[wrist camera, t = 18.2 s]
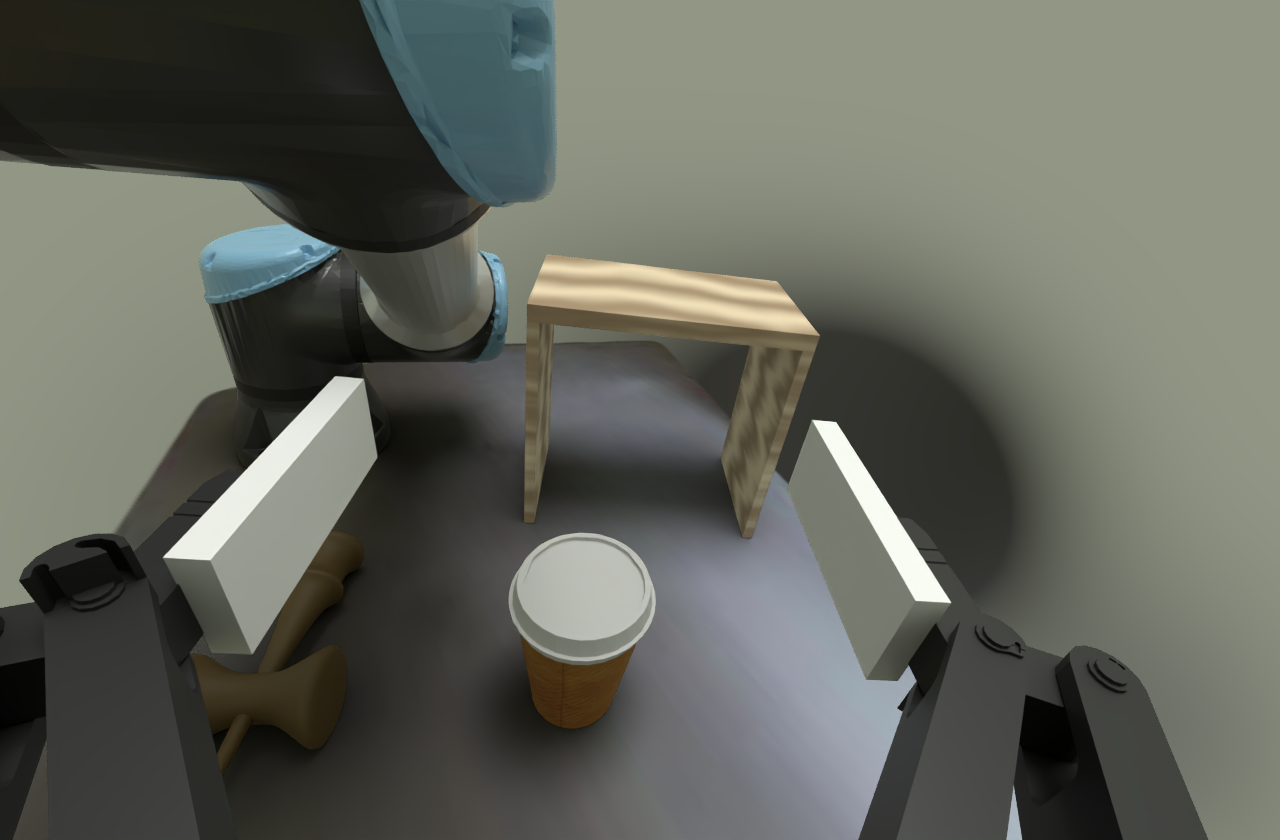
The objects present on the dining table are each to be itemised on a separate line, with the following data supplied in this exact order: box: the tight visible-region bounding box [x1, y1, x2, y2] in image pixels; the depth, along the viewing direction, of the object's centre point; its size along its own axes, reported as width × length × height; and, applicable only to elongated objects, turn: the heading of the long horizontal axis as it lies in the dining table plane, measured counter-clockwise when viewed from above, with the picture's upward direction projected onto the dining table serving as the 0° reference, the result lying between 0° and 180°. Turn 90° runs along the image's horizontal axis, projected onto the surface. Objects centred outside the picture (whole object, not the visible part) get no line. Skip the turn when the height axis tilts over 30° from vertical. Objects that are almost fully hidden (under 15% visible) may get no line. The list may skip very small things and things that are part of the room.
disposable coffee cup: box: [509, 533, 656, 729], centre depth 37 cm, size 10×10×12 cm
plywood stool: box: [524, 254, 820, 538], centre depth 55 cm, size 14×24×24 cm, turn 92°
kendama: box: [190, 530, 364, 776], centre depth 37 cm, size 6×10×20 cm
